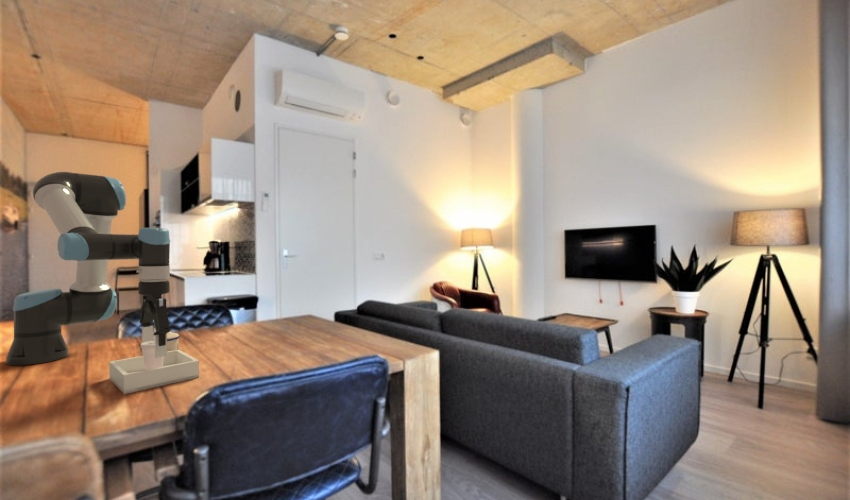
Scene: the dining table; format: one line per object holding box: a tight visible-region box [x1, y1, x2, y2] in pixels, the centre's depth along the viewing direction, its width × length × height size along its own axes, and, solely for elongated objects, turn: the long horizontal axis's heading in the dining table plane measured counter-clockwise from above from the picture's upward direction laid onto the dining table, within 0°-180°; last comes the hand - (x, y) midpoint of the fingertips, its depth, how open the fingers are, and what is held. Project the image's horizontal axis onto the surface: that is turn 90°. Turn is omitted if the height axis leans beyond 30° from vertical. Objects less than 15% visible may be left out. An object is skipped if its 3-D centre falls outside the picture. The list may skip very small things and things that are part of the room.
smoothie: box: [139, 327, 164, 370], centre depth 116 cm, size 6×6×14 cm
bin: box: [108, 349, 200, 395], centre depth 116 cm, size 18×18×5 cm
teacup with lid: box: [153, 331, 180, 352], centre depth 131 cm, size 12×9×12 cm
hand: (154, 352), depth 116 cm, fingers open, 13 cm apart
